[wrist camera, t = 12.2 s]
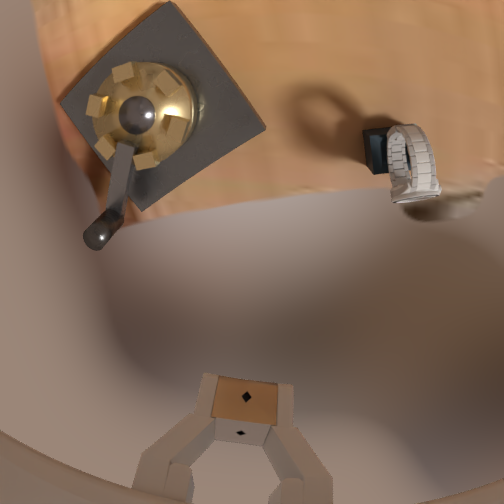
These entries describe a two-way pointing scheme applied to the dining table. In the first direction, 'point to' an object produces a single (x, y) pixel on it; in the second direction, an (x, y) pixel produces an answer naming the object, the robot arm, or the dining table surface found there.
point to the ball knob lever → (137, 130)
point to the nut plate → (207, 93)
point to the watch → (403, 161)
